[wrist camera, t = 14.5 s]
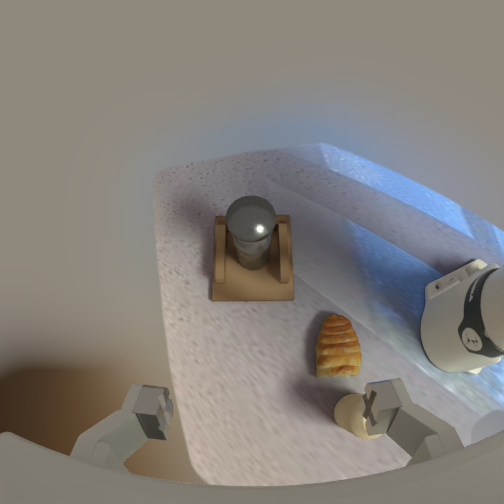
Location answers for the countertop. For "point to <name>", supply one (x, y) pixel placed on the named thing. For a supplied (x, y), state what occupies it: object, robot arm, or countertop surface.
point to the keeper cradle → (253, 281)
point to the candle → (352, 416)
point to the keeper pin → (251, 230)
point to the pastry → (337, 349)
